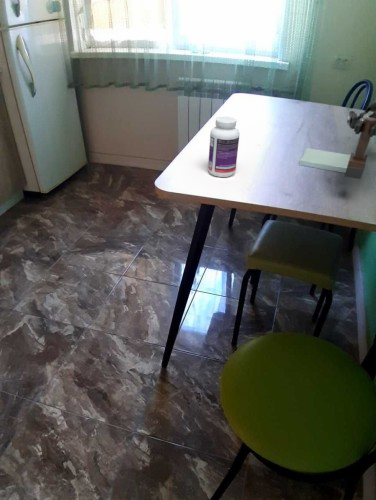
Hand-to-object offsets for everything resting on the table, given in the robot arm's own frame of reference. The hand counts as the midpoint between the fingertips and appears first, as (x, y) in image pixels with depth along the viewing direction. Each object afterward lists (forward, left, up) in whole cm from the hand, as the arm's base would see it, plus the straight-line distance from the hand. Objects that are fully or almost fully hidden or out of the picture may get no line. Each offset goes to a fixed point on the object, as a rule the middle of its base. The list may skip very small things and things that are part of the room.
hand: (364, 131), depth 96 cm
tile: (+8, -28, -18) cm, 34 cm away
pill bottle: (+35, -5, -18) cm, 40 cm away
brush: (-1, -3, -11) cm, 11 cm away
